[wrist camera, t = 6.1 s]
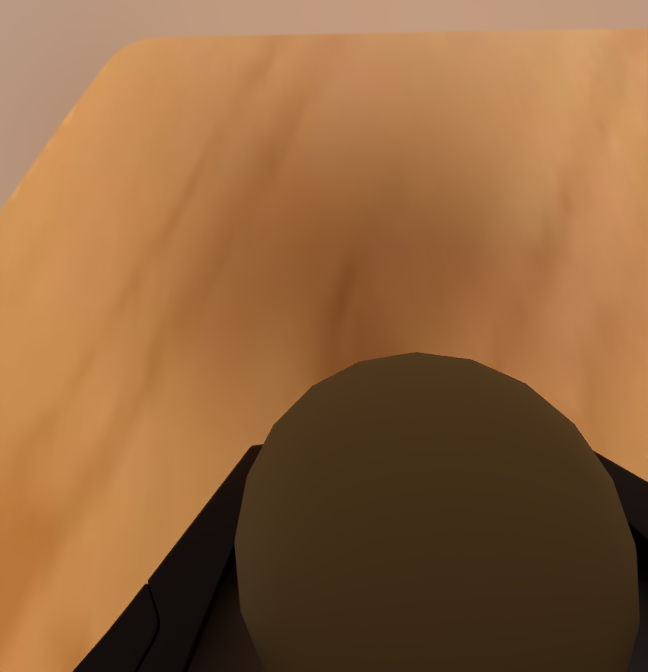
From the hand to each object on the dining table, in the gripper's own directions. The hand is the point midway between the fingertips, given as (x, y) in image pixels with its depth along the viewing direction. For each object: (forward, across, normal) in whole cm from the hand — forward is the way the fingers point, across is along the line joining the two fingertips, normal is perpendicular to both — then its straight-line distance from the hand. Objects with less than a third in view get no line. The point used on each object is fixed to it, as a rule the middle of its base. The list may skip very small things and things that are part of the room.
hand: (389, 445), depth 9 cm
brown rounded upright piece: (+4, 0, +6) cm, 7 cm away
